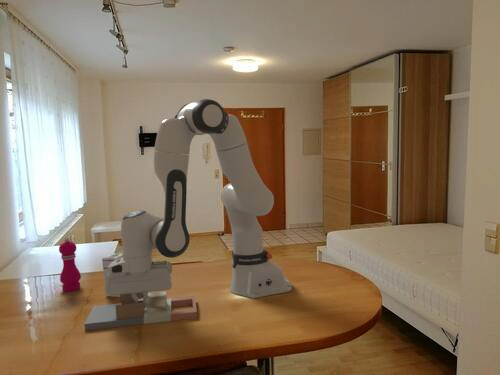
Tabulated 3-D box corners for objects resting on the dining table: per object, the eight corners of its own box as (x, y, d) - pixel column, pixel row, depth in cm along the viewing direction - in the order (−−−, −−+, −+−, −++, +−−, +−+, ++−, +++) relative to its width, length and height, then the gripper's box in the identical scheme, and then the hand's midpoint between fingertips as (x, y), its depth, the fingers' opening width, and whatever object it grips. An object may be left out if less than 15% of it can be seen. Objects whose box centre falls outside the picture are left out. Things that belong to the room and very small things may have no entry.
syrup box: (119, 297, 143) (116, 257, 141) (104, 296, 144) (101, 257, 142) (127, 291, 148) (124, 253, 146) (113, 290, 149) (110, 252, 148)
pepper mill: (61, 293, 148) (56, 241, 145) (60, 287, 154) (55, 237, 152) (82, 289, 151) (77, 238, 149) (80, 284, 157) (76, 234, 155)
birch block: (166, 303, 131) (166, 291, 131) (166, 310, 125) (165, 298, 125) (148, 304, 130) (147, 293, 130) (146, 312, 124) (145, 300, 124)
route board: (195, 301, 137) (194, 284, 136) (197, 317, 124) (196, 299, 123) (94, 311, 131) (92, 294, 130) (85, 330, 118) (83, 311, 117)
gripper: (171, 257, 130) (174, 297, 132) (106, 262, 126) (109, 304, 128) (171, 263, 124) (173, 305, 126) (102, 268, 120) (105, 312, 122)
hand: (140, 305), depth 127 cm, fingers closed
